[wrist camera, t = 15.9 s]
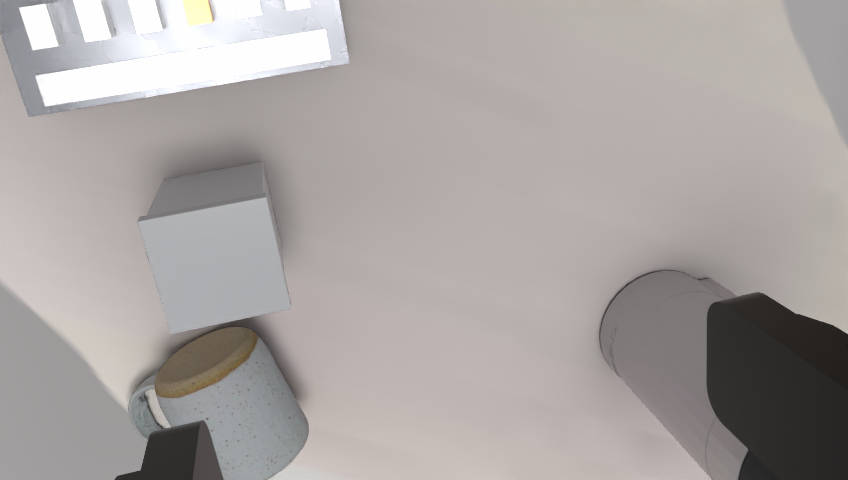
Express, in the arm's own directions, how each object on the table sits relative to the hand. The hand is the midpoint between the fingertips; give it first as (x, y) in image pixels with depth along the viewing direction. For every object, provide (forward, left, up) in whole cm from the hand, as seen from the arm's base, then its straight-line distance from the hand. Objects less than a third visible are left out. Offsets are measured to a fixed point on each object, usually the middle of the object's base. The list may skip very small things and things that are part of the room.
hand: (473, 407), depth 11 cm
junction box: (+7, +7, -36) cm, 38 cm away
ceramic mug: (+10, +19, -36) cm, 42 cm away
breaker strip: (+6, -5, -36) cm, 37 cm away
